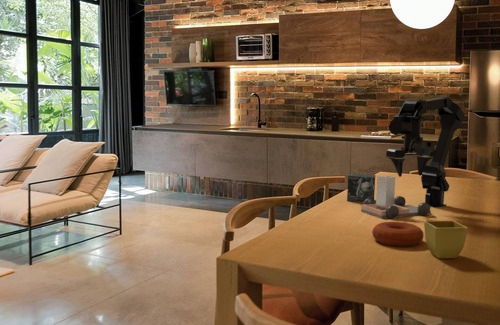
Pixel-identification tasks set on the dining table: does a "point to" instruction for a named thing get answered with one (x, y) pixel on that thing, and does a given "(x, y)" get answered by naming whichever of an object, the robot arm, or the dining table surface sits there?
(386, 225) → the donut
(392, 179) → the block
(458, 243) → the flower pot
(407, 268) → the dining table surface
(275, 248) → the dining table surface
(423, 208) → the chassis
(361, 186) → the box
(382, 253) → the dining table surface
